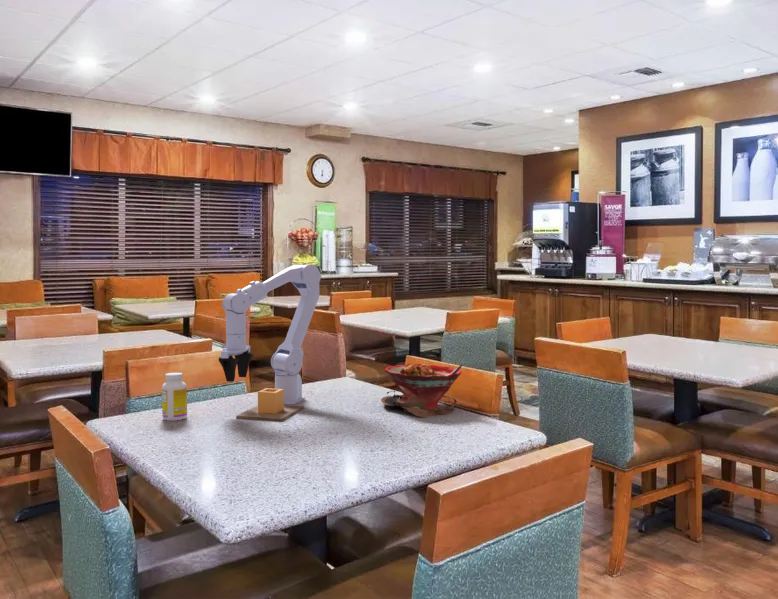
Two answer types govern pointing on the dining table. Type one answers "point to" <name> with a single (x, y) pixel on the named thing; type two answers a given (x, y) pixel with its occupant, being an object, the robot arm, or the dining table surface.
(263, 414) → the wooden board with peg
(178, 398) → the supplement bottle
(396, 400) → the stew
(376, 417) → the dining table surface
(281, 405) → the orange hollow cube
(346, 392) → the dining table surface
